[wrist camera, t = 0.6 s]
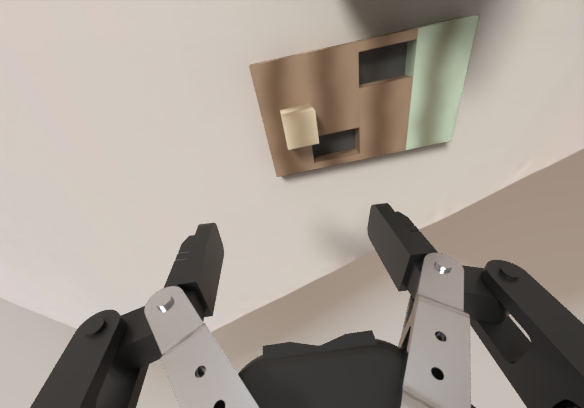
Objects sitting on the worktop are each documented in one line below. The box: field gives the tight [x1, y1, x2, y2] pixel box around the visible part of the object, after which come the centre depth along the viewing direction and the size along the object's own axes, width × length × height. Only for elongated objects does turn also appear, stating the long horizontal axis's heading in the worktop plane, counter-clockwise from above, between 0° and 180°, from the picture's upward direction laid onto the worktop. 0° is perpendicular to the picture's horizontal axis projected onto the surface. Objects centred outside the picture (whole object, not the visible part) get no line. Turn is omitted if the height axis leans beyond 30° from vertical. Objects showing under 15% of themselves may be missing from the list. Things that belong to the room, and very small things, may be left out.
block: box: [280, 104, 319, 150], centre depth 30 cm, size 4×4×4 cm
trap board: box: [249, 15, 479, 177], centre depth 32 cm, size 27×15×2 cm, turn 101°
